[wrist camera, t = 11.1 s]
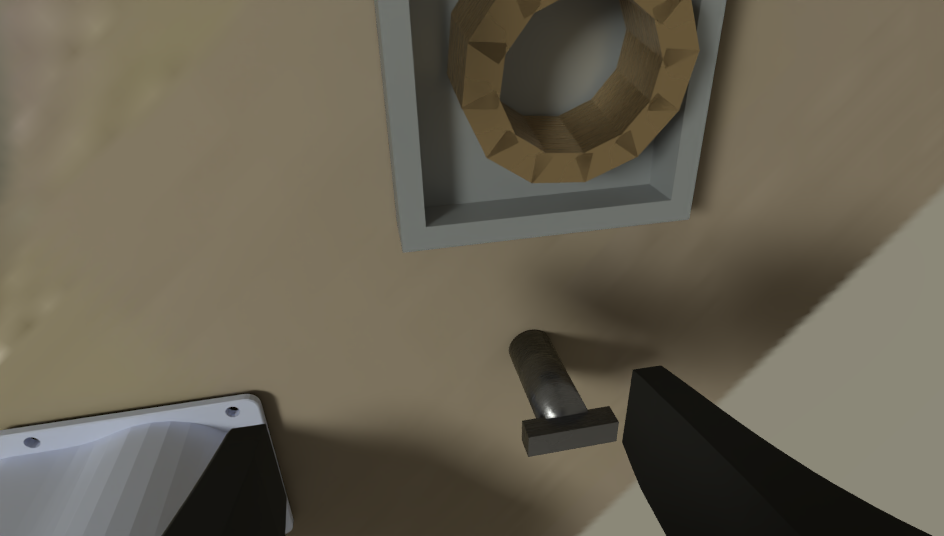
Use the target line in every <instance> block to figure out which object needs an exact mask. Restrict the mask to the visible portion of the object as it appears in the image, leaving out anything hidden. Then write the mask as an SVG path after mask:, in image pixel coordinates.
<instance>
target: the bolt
mask: <svg viewBox="0 0 944 536" xmlns="http://www.w3.org/2000/svg"><path fill="white" fill-rule="evenodd" d="M509 354H510V357H511V359H512V362H513V364H514V367H515V369H516V371H517V374H518V376H519V378H520V381H521V383H522V386H523V388H524V390H525V393H526V395H527V398H528V400H529V402H530V405H531V407H532V409H533V412H534V414H535V417H536V419H530V420H524V421H522V442H523V444H524V447H525V450H526V452H527V455H528V457H530V456H536V455H541V454H547V453H553V452H558V451H564V450H569V449H575V448H580V447H586V446H592V445H597V444H603V443H608V442H614V441H616V439H617V432H618V424H619V422H618V420H617V418H616V417H615V415H614V413H613V412H612V410H611V408H610V406H607V407H601V408H595V409H589V410H587V408H586V406H585V404H584V402H583V401H582V399H581V397H580V395H579V393H578V391H577V390H576V388H575V386H574V384H573V382H572V380H571V378H570V377H569V375H568V373H567V371H566V369H565V367H564V365H563V364H562V362H561V360H560V358H559V356H558V354H557V352H556V351H555V349H554V347H553V345H552V343H551V341H550V340H549V338H548V336H547V335H546V334H545V333H543V332H541V331H538V330H529V331H525V332H523V333H521V334H519V335H518V336H516V337H515V338H514V339H513V341H512V342H511V344H510V347H509Z"/></svg>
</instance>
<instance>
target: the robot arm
mask: <svg viewBox="0 0 944 536" xmlns="http://www.w3.org/2000/svg"><path fill="white" fill-rule="evenodd" d="M229 407H236V408H238V410H231V409H229ZM31 437H34V438H36V439H38V440H34V439H32V438H31ZM622 443H623V445H624V448H625V450H626V453H627V456H628V458H629V461H630V463H631V466H632V469H633V471H634V473H635V476H636V478H637V480H638V483H639V485H640V488H641V490H642V492H643V493H644V495H645V497H646V499H647V501H648V503H649V505H650V507H651V508H652V510H653V512H654V514H655V516H656V518H657V519H658V521H659V523H660V525H661V527H662V528H663V530H664V532H665V534H666V536H932V535H930V534H927V533H926V532H924V531H922V530H919V529H917V528H915V527H913V526H911V525H909V524H907V523H905V522H903V521H901V520H899V519H897V518H895V517H893V516H892V515H890V514H888V513H886V512H884V511H882V510H880V509H878V508H876V507H874V506H873V505H871V504H869V503H867V502H866V501H864V500H862V499H860V498H858V497H856V496H855V495H853V494H851V493H849V492H848V491H846V490H844V489H842V488H840V487H838V486H837V485H835V484H833V483H832V482H830V481H828V480H827V479H825V478H823V477H822V476H820V475H818V474H817V473H815V472H813V471H812V470H810V469H809V468H807V467H805V466H804V465H802V464H801V463H799V462H798V461H796V460H794V459H793V458H791V457H790V456H788V455H787V454H785V453H784V452H782V451H780V450H779V449H777V448H776V447H774V446H773V445H771V444H770V443H768V442H767V441H766V440H764V439H763V438H761V437H759V436H758V435H757V434H755V433H754V432H752V431H751V430H749V429H748V428H747V427H745V426H744V425H742V424H741V423H739V422H738V421H737V420H735V419H734V418H732V417H731V416H730V415H728V414H727V413H726V412H724V411H723V410H721V409H720V408H719V407H717V406H716V405H715V404H713V403H712V402H711V401H709V400H708V399H706V398H705V397H704V396H702V395H701V394H700V393H698V392H697V391H696V390H694V389H693V388H692V387H690V386H689V385H687V384H686V383H685V382H683V381H682V380H681V379H679V378H678V377H677V376H675V375H674V374H672V373H671V372H670V371H668V370H667V369H665V368H664V367H662V366H655V367H648V368H641V369H634V370H633V373H632V379H631V386H630V393H629V400H628V406H627V413H626V420H625V426H624V433H623V440H622ZM292 528H293V516H292V512H291V509H290V505H289V501H288V498H287V494H286V491H285V487H284V483H283V480H282V476H281V473H280V469H279V465H278V462H277V458H276V454H275V451H274V447H273V444H272V440H271V436H270V433H269V429H268V426H267V422H266V418H265V415H264V411H263V407H262V404H261V401H260V399H259V398H258V397H257V396H255V395H252V394H241V395H235V396H228V397H221V398H214V399H208V400H201V401H194V402H188V403H181V404H174V405H167V406H161V407H154V408H147V409H141V410H134V411H127V412H120V413H114V414H107V415H100V416H94V417H87V418H80V419H73V420H67V421H60V422H53V423H47V424H40V425H33V426H27V427H20V428H13V429H6V430H0V536H285V534H287V533H288V532H290V531H291V530H292Z"/></svg>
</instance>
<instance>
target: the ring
mask: <svg viewBox="0 0 944 536" xmlns="http://www.w3.org/2000/svg"><path fill="white" fill-rule="evenodd" d="M556 1H558V0H458V2H457V3H456V5H455V7H454V8H453V10H452V11H451V20H450V34H449V48H448V63H447V75H448V78H449V80H450V82H451V85H452V87H453V90H454V92H455V94H456V97H457V99H458V101H459V104H460V106H461V109H462V110H463V112H464V114H465V116H466V118H467V120H468V122H469V124H470V126H471V128H472V130H473V132H474V133H475V135H476V137H477V139H478V141H479V143H480V145H481V147H482V149H483V151H484V154H485V156H486V158H487V159H489V160H491V161H493V162H495V163H497V164H498V165H500V166H502V167H504V168H505V169H507V170H509V171H511V172H513V173H514V174H516V175H518V176H520V177H522V178H523V179H525V180H527V181H529V182H530V183H570V182H587V181H589V180H591V179H593V178H595V177H597V176H599V175H601V174H603V173H605V172H607V171H609V170H611V169H613V168H615V167H617V166H620V165H622V164H624V163H626V162H628V161H630V160H632V159H634V158H636V157H638V156H639V155H640V153H641V152H642V151H643V150H644V149H645V148H646V147H647V146H648V144H649V143H650V142H651V141H652V140H653V139H654V138H655V137H656V136H657V134H658V133H659V132H660V131H661V130H662V129H663V128H664V127H665V126H666V124H667V123H668V122H669V121H670V120H671V119H672V118H673V117H674V116H675V114H676V113H677V112H678V111H679V109H680V106H681V103H682V100H683V97H684V95H685V92H686V89H687V86H688V83H689V80H690V77H691V74H692V71H693V68H694V65H695V63H696V60H697V57H698V54H699V51H700V49H699V43H698V37H697V31H696V25H695V19H694V13H693V6H692V0H619V2H620V6H621V11H622V15H623V19H624V23H625V27H626V33H625V37H624V40H623V44H622V48H621V52H620V56H619V60H618V64H617V68H616V69H615V71H614V72H613V73H612V74H611V76H610V77H609V78H608V79H607V80H606V82H605V83H604V84H603V85H602V87H601V88H600V89H599V90H598V92H597V93H596V94H595V95H594V97H593V98H592V99H591V100H589V101H587V102H585V103H583V104H581V105H579V106H577V107H575V108H573V109H571V110H569V111H567V112H565V113H563V114H561V115H559V116H523V115H522V114H520V113H519V112H517V111H515V110H514V109H512V108H511V107H509V106H508V105H506V104H504V103H503V102H501V101H500V92H501V85H502V77H503V69H504V62H505V55H506V53H507V52H508V50H509V49H510V47H511V46H512V45H513V43H514V42H515V40H516V39H517V37H518V36H519V34H520V33H521V32H522V30H523V29H524V27H525V26H526V24H527V23H528V22H529V20H530V19H531V17H532V16H533V14H534V13H536V12H537V11H539V10H541V9H543V8H545V7H547V6H549V5H550V4H552V3H554V2H556Z"/></svg>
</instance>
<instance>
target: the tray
mask: <svg viewBox="0 0 944 536" xmlns="http://www.w3.org/2000/svg"><path fill="white" fill-rule="evenodd" d="M457 2H458V0H374V3H375V13H376V23H377V32H378V42H379V52H380V62H381V71H382V81H383V91H384V101H385V110H386V120H387V130H388V140H389V149H390V159H391V169H392V179H393V188H394V198H395V208H396V218H397V226H398V231H399V236H400V241H401V246H402V251H403V252H412V251H420V250H429V249H438V248H446V247H455V246H463V245H472V244H481V243H489V242H498V241H506V240H515V239H523V238H532V237H541V236H549V235H558V234H566V233H575V232H584V231H592V230H601V229H609V228H618V227H627V226H635V225H644V224H652V223H661V222H669V221H678V220H687V219H689V217H690V212H691V206H692V200H693V194H694V188H695V182H696V176H697V170H698V165H699V159H700V153H701V147H702V141H703V135H704V129H705V124H706V118H707V112H708V106H709V100H710V94H711V88H712V82H713V77H714V71H715V65H716V59H717V53H718V47H719V41H720V35H721V30H722V24H723V18H724V12H725V6H726V0H692V6H693V13H694V19H695V25H696V31H697V37H698V43H699V49H700V51H699V54H698V57H697V60H696V63H695V65H694V68H693V71H692V74H691V77H690V80H689V83H688V86H687V89H686V92H685V95H684V97H683V100H682V103H681V106H680V109H679V111H678V112H677V113H676V114H675V116H674V117H673V118H672V119H671V120H670V121H669V122H668V123H667V124H666V126H665V127H664V128H663V129H662V130H661V131H660V132H659V133H658V134H657V136H656V137H655V138H654V139H653V140H652V141H651V142H650V143H649V144H648V146H647V147H646V148H645V149H644V150H643V151H642V152H641V153H640V155H639V156H638V157H636V158H634V159H632V160H630V161H628V162H626V163H624V164H622V165H620V166H617V167H615V168H613V169H611V170H609V171H607V172H605V173H603V174H601V175H599V176H597V177H595V178H593V179H591V180H589V181H587V182H570V183H530V182H529V181H527V180H525V179H523V178H522V177H520V176H518V175H516V174H514V173H513V172H511V171H509V170H507V169H505V168H504V167H502V166H500V165H498V164H497V163H495V162H493V161H491V160H489V159H487V158H486V156H485V154H484V151H483V149H482V147H481V145H480V143H479V141H478V139H477V137H476V135H475V133H474V132H473V130H472V128H471V126H470V124H469V122H468V120H467V118H466V116H465V114H464V112H463V110H462V109H461V106H460V104H459V101H458V99H457V97H456V94H455V92H454V90H453V87H452V85H451V82H450V80H449V78H448V75H447V63H448V48H449V34H450V20H451V11H452V10H453V8H454V7H455V5H456V3H457ZM625 33H626V27H625V23H624V19H623V15H622V11H621V6H620V2H619V0H558V1H556V2H554V3H552V4H550V5H549V6H547V7H545V8H543V9H541V10H539V11H537V12H536V13H534V14H533V16H532V17H531V19H530V20H529V22H528V23H527V24H526V26H525V27H524V29H523V30H522V32H521V33H520V34H519V36H518V37H517V39H516V40H515V42H514V43H513V45H512V46H511V47H510V49H509V50H508V52H507V53H506V55H505V62H504V69H503V77H502V85H501V92H500V101H501V102H503V103H504V104H506V105H508V106H509V107H511V108H512V109H514V110H515V111H517V112H519V113H520V114H522V115H523V116H559V115H561V114H563V113H565V112H567V111H569V110H571V109H573V108H575V107H577V106H579V105H581V104H583V103H585V102H587V101H589V100H591V99H592V98H593V97H594V95H595V94H596V93H597V92H598V90H599V89H600V88H601V87H602V85H603V84H604V83H605V82H606V80H607V79H608V78H609V77H610V76H611V74H612V73H613V72H614V71H615V69H616V68H617V64H618V60H619V56H620V52H621V48H622V44H623V40H624V37H625Z"/></svg>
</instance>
